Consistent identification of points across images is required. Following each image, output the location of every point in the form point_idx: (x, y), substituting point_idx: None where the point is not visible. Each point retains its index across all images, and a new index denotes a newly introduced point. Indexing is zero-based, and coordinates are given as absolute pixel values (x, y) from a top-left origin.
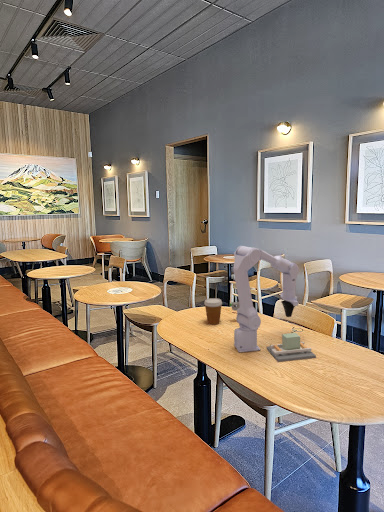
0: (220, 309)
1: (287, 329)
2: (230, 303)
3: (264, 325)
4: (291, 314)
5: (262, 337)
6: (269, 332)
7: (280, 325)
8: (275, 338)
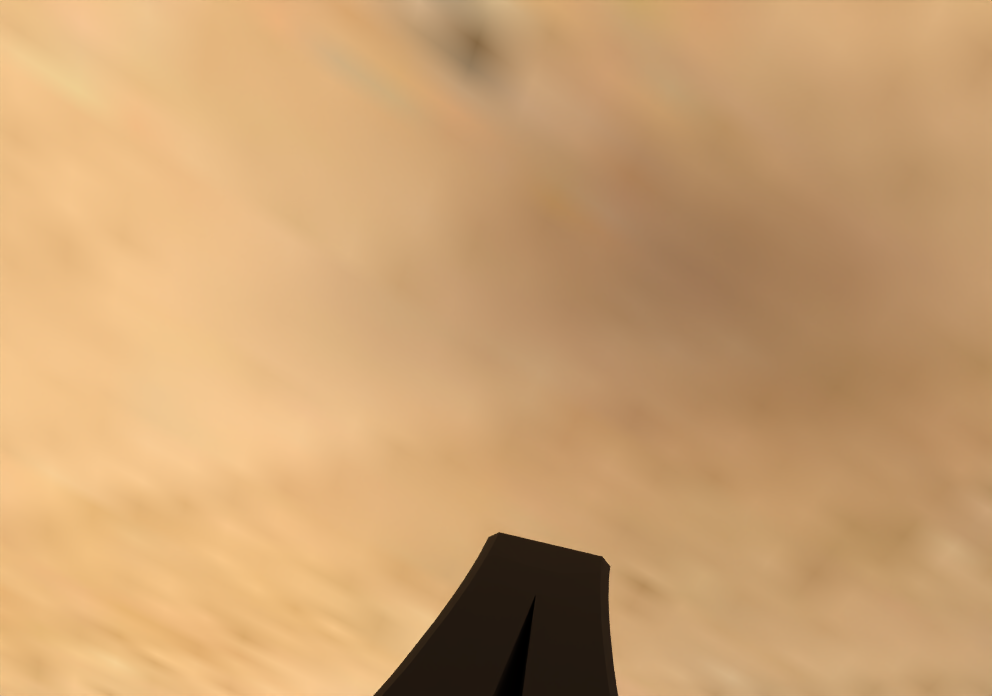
0: None
1: (283, 44)
2: None
3: (17, 343)
4: (606, 635)
5: None
6: (353, 451)
7: (27, 54)
8: (641, 518)
